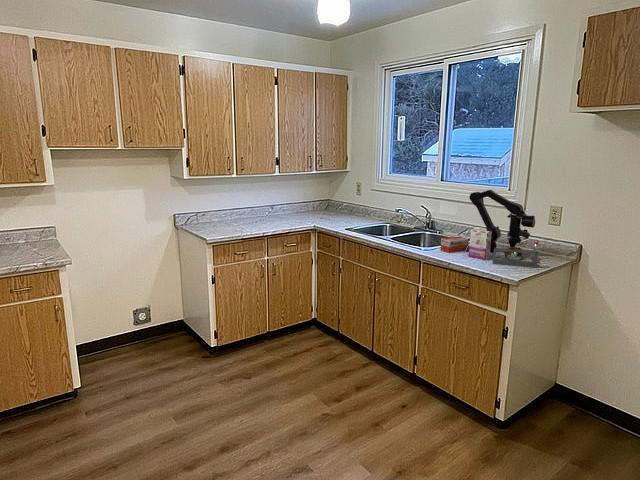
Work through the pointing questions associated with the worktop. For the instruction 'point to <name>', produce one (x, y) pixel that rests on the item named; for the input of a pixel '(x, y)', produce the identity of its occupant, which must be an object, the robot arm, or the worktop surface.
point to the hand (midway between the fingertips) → (512, 250)
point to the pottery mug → (513, 252)
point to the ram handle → (535, 247)
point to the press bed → (512, 262)
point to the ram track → (534, 259)
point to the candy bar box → (480, 244)
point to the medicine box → (454, 244)
